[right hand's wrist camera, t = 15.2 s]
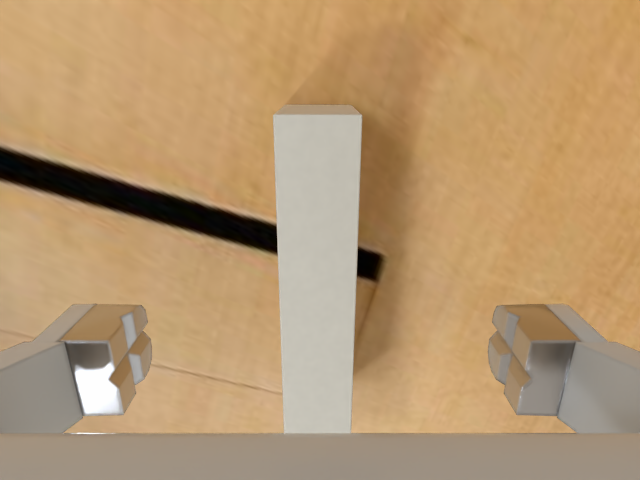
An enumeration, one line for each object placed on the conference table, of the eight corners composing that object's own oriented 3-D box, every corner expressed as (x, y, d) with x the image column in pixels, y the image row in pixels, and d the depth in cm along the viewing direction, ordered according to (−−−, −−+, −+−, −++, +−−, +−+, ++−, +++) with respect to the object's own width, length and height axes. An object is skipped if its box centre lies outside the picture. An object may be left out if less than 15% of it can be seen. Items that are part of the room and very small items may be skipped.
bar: (284, 104, 30) (272, 114, 22) (351, 104, 30) (362, 114, 22) (291, 382, 38) (284, 458, 31) (344, 383, 38) (350, 458, 31)
